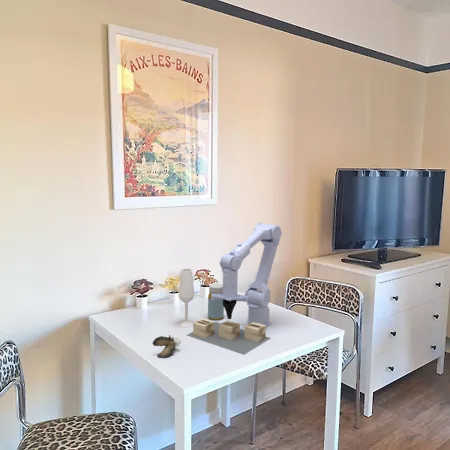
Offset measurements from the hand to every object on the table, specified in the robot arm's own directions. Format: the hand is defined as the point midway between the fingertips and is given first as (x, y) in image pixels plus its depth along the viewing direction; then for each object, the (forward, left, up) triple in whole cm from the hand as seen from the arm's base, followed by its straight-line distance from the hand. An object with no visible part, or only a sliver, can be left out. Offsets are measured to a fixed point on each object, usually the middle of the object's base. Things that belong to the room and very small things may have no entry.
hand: (229, 318), depth 166 cm
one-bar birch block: (-5, +9, -7) cm, 13 cm away
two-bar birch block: (+5, -9, -7) cm, 13 cm away
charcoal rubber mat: (+1, 0, -8) cm, 8 cm away
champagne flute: (+1, -22, -8) cm, 23 cm away
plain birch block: (0, 0, -7) cm, 7 cm away
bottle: (-13, -17, -8) cm, 23 cm away
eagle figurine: (+26, -9, -8) cm, 28 cm away
